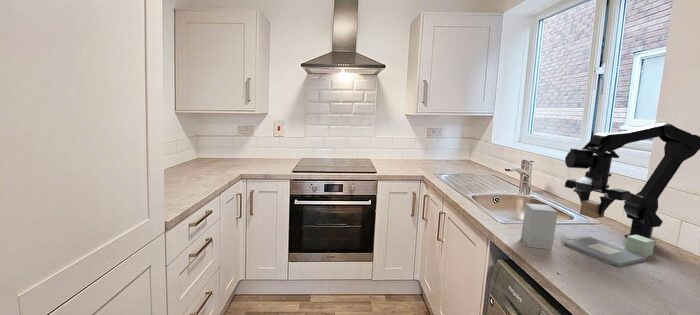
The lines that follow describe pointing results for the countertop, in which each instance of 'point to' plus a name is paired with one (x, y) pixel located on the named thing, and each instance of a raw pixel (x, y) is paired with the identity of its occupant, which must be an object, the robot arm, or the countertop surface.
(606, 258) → the plate
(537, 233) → the supplement box
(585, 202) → the walnut block
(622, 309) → the countertop surface
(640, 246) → the sage block
